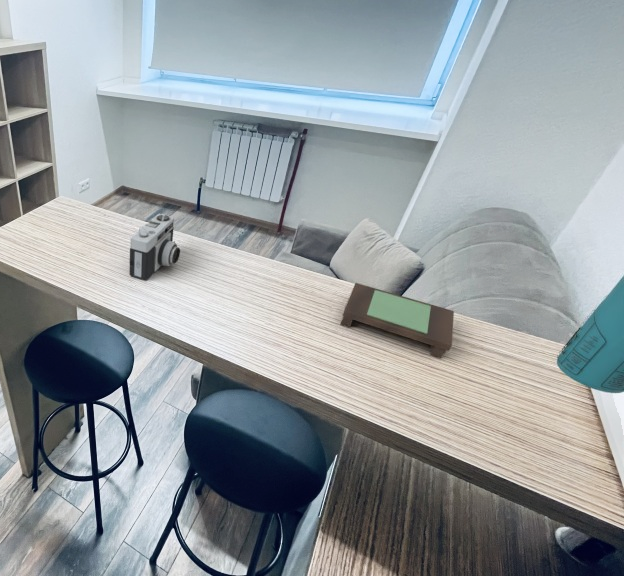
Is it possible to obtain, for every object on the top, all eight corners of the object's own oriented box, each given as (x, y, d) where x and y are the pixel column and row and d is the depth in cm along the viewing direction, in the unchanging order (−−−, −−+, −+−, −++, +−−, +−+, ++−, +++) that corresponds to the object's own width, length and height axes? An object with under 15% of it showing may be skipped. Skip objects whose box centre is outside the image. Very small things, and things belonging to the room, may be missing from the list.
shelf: (445, 325, 75) (454, 310, 73) (442, 361, 68) (452, 344, 65) (349, 296, 83) (355, 281, 80) (338, 325, 75) (344, 310, 73)
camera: (161, 286, 87) (164, 245, 81) (128, 276, 90) (128, 235, 84) (187, 257, 96) (191, 218, 91) (155, 248, 100) (157, 211, 94)
